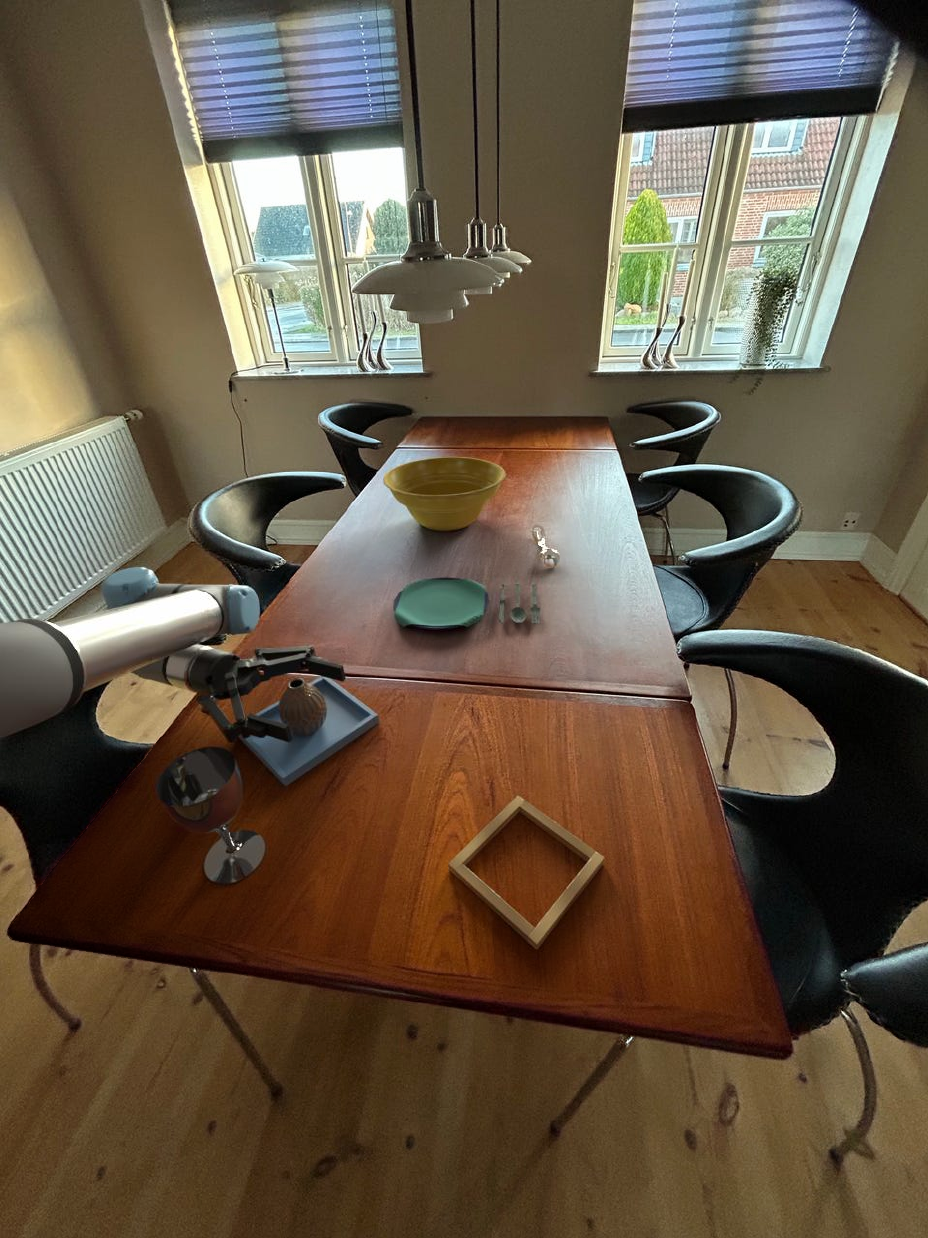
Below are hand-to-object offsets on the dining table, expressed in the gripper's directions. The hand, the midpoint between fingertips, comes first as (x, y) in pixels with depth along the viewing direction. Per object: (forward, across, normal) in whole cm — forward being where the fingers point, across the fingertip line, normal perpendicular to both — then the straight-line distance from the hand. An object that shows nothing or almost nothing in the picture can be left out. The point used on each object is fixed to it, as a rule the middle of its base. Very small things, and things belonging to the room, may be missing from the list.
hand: (318, 701), depth 78 cm
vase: (-3, 0, -6) cm, 7 cm away
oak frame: (+35, +10, -7) cm, 37 cm away
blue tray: (-3, 0, -7) cm, 7 cm away
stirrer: (+15, -72, -7) cm, 74 cm away
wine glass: (+1, +21, -7) cm, 22 cm away
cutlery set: (+7, -40, -7) cm, 41 cm away
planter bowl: (-14, -80, -7) cm, 81 cm away
